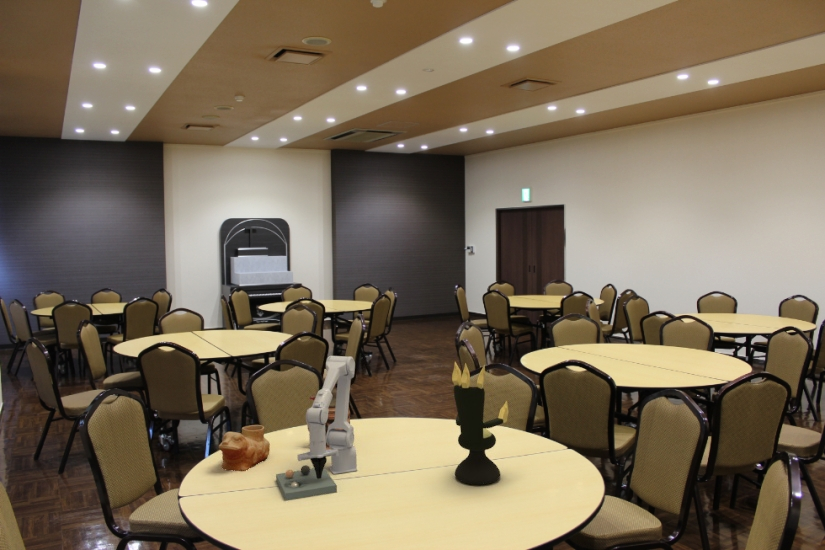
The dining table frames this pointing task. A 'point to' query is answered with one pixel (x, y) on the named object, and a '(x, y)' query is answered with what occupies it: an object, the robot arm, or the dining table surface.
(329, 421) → the beer stein
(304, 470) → the black ball
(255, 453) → the ceramic vessel
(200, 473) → the dining table surface
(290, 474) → the terracotta ball
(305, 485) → the plate
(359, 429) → the dining table surface
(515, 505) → the dining table surface
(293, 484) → the steel ball
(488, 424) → the candelabra
